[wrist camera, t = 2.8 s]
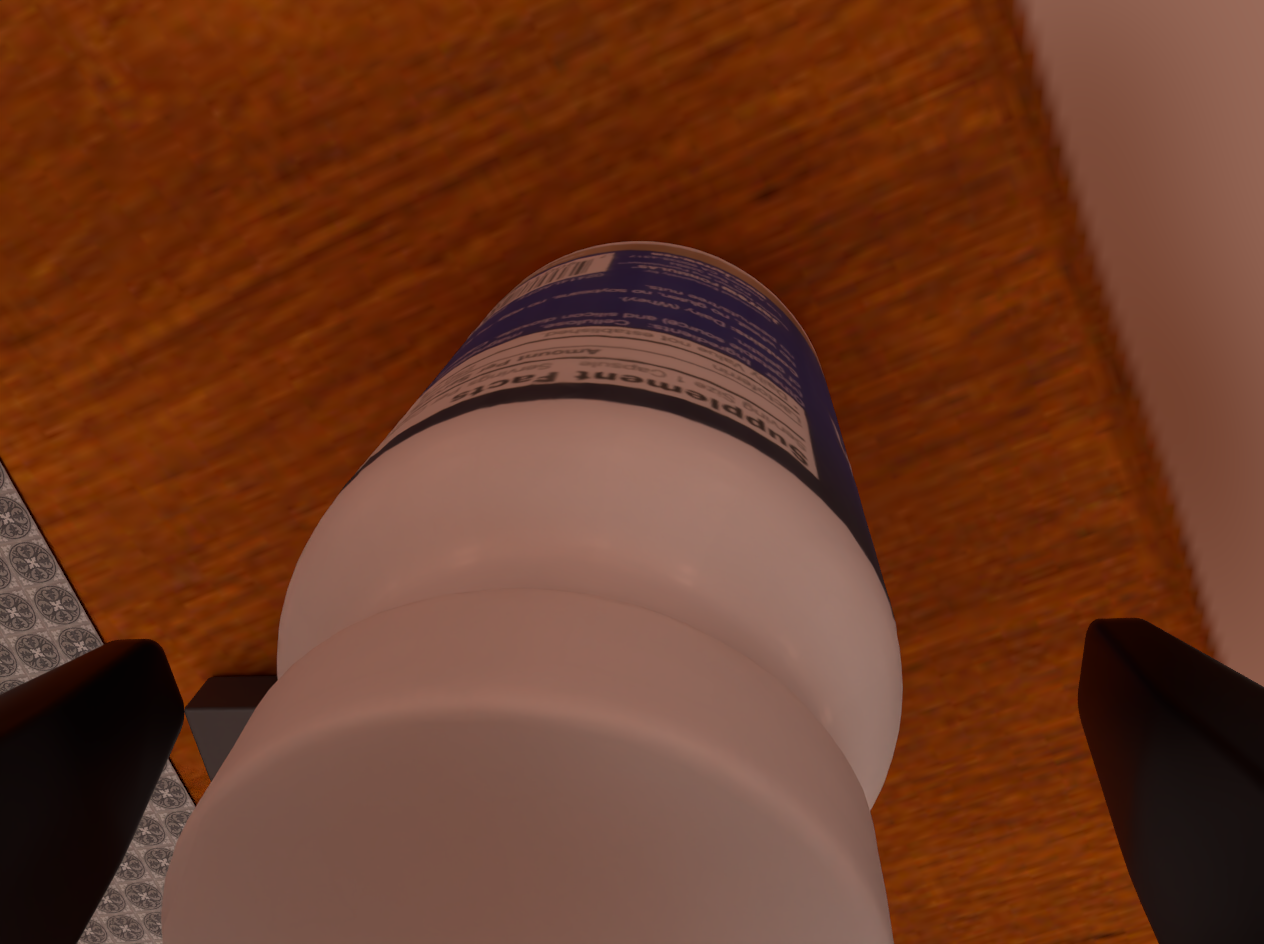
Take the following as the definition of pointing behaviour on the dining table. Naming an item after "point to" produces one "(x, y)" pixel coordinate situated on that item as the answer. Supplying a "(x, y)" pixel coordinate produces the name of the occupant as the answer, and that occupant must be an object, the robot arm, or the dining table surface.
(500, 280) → the dining table surface
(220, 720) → the tray
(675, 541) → the pill bottle
